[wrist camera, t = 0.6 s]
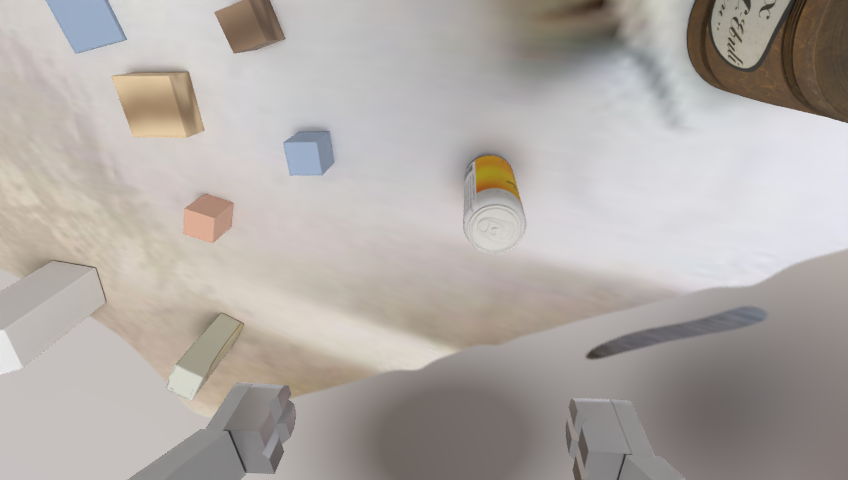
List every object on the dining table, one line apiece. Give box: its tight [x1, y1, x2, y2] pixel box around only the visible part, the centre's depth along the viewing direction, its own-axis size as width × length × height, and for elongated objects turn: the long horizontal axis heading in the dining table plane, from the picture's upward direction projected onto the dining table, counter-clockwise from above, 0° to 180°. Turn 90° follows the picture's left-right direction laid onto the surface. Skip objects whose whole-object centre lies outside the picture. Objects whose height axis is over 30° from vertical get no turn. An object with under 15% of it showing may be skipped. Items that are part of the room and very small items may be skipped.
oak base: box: [112, 72, 204, 138], centre depth 50 cm, size 7×7×4 cm
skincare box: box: [165, 313, 244, 401], centre depth 64 cm, size 6×4×12 cm
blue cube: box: [283, 132, 334, 175], centre depth 50 cm, size 4×4×5 cm
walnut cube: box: [214, 0, 285, 53], centre depth 44 cm, size 4×4×5 cm
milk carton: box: [0, 261, 106, 374], centre depth 59 cm, size 7×7×19 cm
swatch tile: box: [46, 0, 127, 53], centre depth 47 cm, size 7×7×1 cm
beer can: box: [463, 155, 526, 254], centre depth 46 cm, size 6×6×15 cm
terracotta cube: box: [184, 194, 234, 243], centre depth 56 cm, size 4×4×5 cm
